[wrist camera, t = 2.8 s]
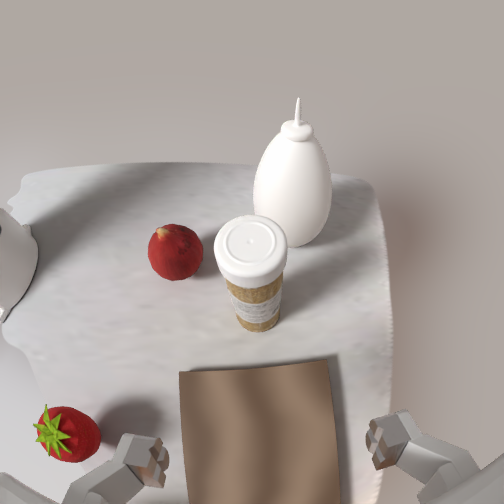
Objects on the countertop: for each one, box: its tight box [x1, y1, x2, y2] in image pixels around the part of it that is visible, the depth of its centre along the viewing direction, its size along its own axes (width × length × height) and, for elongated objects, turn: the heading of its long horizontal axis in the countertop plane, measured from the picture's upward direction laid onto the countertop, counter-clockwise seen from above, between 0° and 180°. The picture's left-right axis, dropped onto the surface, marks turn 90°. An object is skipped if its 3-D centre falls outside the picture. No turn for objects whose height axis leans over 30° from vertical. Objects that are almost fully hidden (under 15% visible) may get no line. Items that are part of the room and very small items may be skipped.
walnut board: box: [179, 359, 341, 504], centre depth 19 cm, size 14×20×2 cm
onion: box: [148, 224, 203, 281], centre depth 28 cm, size 6×6×8 cm
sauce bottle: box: [253, 98, 332, 248], centre depth 25 cm, size 8×8×18 cm
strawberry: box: [33, 404, 101, 463], centre depth 16 cm, size 6×8×10 cm
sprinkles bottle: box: [214, 215, 288, 332], centre depth 22 cm, size 5×5×14 cm
